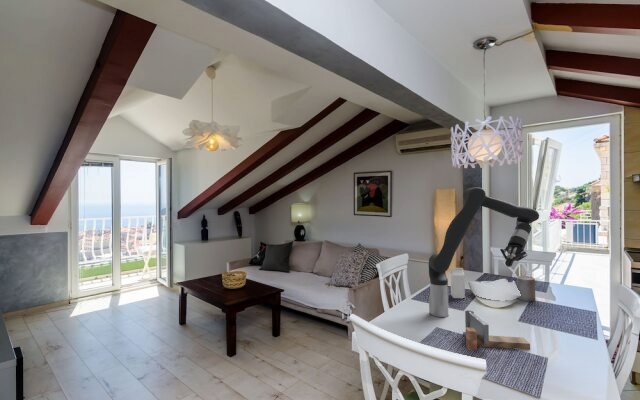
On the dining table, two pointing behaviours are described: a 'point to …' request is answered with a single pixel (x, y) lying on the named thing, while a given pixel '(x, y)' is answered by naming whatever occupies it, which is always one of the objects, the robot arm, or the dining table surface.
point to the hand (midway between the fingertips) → (507, 265)
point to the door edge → (494, 341)
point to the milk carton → (457, 283)
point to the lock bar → (477, 326)
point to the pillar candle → (526, 288)
